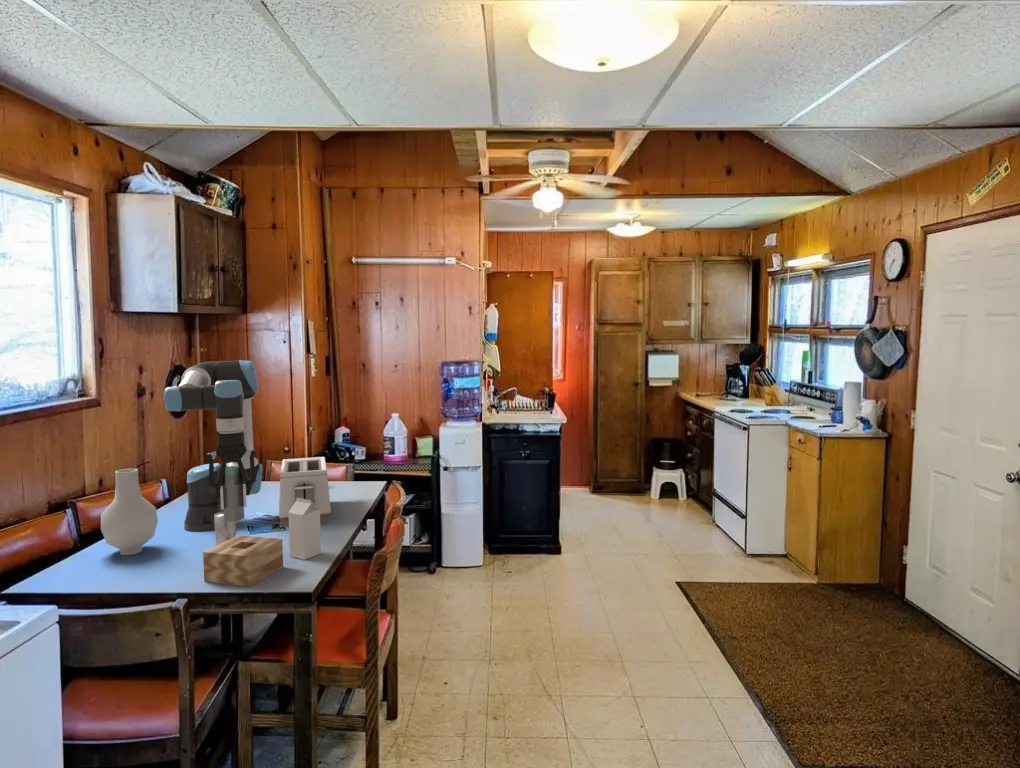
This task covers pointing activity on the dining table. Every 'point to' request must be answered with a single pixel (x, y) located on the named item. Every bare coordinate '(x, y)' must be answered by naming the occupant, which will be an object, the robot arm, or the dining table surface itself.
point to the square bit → (233, 494)
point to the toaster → (304, 486)
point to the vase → (128, 515)
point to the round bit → (223, 529)
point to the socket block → (243, 560)
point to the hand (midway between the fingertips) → (233, 507)
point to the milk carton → (304, 529)
